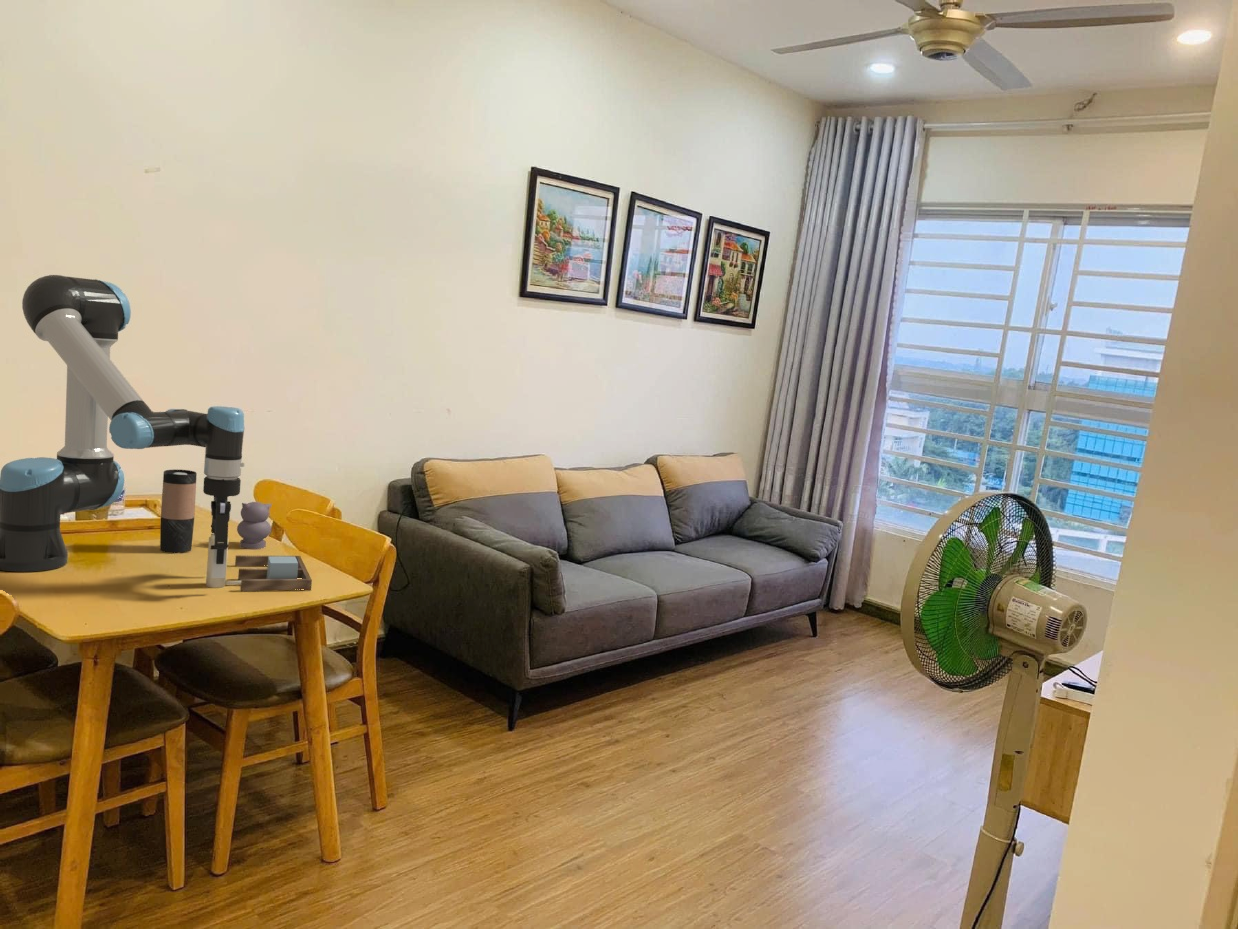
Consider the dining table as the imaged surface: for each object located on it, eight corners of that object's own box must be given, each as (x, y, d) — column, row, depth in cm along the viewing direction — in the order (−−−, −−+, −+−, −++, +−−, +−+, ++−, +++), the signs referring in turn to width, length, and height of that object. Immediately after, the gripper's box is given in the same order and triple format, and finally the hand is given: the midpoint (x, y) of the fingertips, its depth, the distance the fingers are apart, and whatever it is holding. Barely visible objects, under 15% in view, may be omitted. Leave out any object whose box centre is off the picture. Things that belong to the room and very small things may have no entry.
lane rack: (240, 591, 203) (241, 580, 203) (235, 565, 223) (235, 555, 222) (311, 590, 210) (311, 580, 210) (299, 565, 229) (300, 555, 229)
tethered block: (206, 589, 202) (209, 540, 200) (205, 581, 207) (208, 534, 206) (296, 588, 210) (299, 542, 209) (293, 581, 216) (296, 535, 214)
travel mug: (198, 548, 234) (203, 472, 231) (181, 555, 226) (186, 476, 223) (170, 544, 234) (174, 468, 232) (152, 550, 227) (156, 471, 224)
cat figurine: (265, 542, 248) (268, 498, 247) (274, 549, 242) (277, 504, 241) (232, 543, 243) (235, 499, 241) (240, 550, 237) (243, 505, 235)
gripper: (244, 487, 193) (238, 584, 196) (237, 468, 215) (232, 555, 218) (205, 486, 190) (200, 585, 192) (202, 466, 212) (197, 555, 214)
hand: (217, 569), depth 205 cm, fingers open, 13 cm apart
